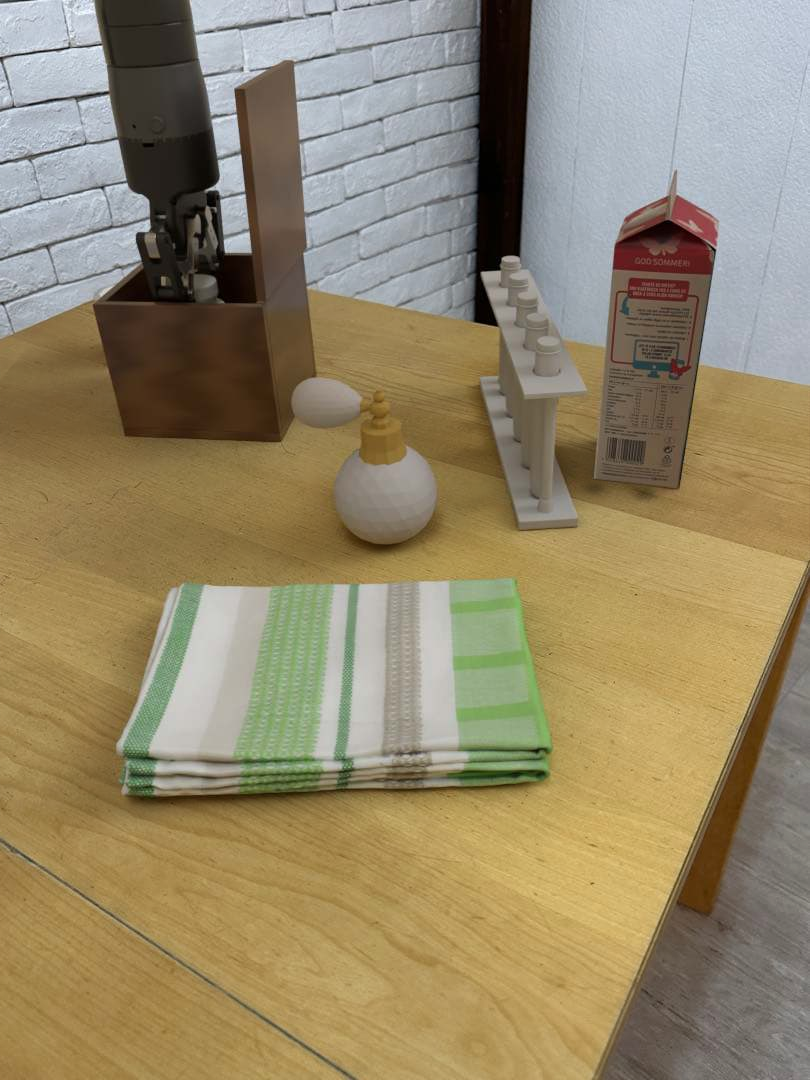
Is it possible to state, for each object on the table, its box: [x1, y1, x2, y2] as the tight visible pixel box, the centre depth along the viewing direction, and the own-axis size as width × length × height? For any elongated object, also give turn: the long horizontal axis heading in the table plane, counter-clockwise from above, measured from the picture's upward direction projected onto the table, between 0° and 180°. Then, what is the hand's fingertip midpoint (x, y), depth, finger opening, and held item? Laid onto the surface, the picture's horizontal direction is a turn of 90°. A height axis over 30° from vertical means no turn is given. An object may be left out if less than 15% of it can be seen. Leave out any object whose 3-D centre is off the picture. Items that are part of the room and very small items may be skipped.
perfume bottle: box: [291, 376, 438, 545], centre depth 64 cm, size 8×10×12 cm
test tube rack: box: [478, 255, 588, 531], centre depth 73 cm, size 25×4×13 cm, turn 3°
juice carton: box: [593, 169, 720, 490], centre depth 68 cm, size 7×7×22 cm
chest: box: [92, 252, 317, 443], centre depth 83 cm, size 15×14×12 cm
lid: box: [233, 59, 308, 302], centre depth 73 cm, size 15×14×1 cm
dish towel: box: [115, 577, 554, 798], centre depth 53 cm, size 17×23×4 cm
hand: (200, 326), depth 82 cm, fingers closed on supplement bottle, 5 cm apart
